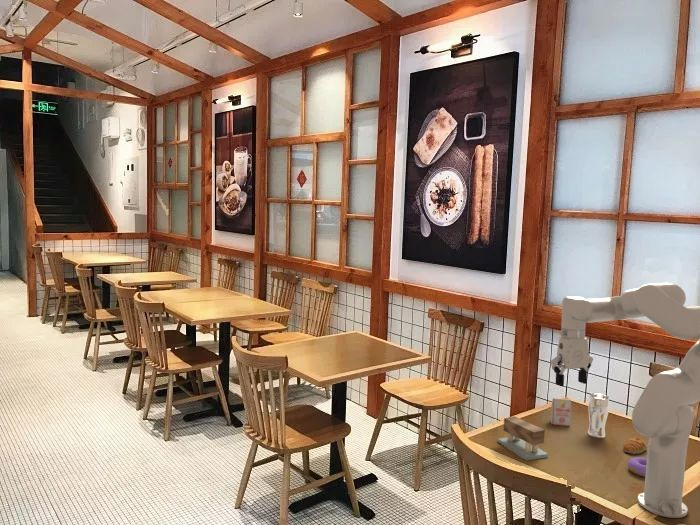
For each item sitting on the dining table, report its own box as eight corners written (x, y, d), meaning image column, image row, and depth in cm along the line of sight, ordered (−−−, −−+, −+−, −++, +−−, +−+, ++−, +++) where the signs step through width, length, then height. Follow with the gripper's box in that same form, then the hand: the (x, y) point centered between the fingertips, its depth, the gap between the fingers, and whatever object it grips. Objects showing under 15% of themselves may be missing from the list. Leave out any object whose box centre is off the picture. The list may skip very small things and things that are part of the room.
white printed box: (550, 421, 228) (552, 396, 227) (568, 422, 227) (569, 398, 226) (552, 424, 224) (553, 399, 223) (570, 426, 223) (571, 401, 222)
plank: (543, 442, 194) (544, 429, 194) (533, 445, 192) (534, 432, 191) (513, 428, 206) (514, 416, 206) (503, 430, 204) (504, 418, 203)
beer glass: (585, 435, 213) (588, 397, 212) (587, 429, 220) (590, 392, 218) (605, 439, 210) (608, 400, 209) (607, 433, 216) (610, 395, 215)
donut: (630, 461, 192) (635, 448, 191) (660, 475, 186) (664, 462, 185) (622, 471, 184) (627, 458, 183) (653, 486, 179) (658, 473, 177)
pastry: (638, 457, 196) (639, 447, 196) (618, 451, 201) (618, 441, 200) (647, 450, 203) (648, 439, 202) (627, 444, 207) (628, 434, 207)
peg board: (547, 457, 193) (548, 444, 193) (525, 460, 190) (526, 447, 190) (518, 439, 208) (519, 426, 208) (497, 441, 205) (498, 429, 205)
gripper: (560, 337, 183) (558, 389, 184) (601, 334, 190) (599, 384, 191) (544, 333, 190) (542, 383, 191) (584, 330, 197) (582, 379, 198)
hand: (571, 384), depth 191 cm, fingers open, 9 cm apart
